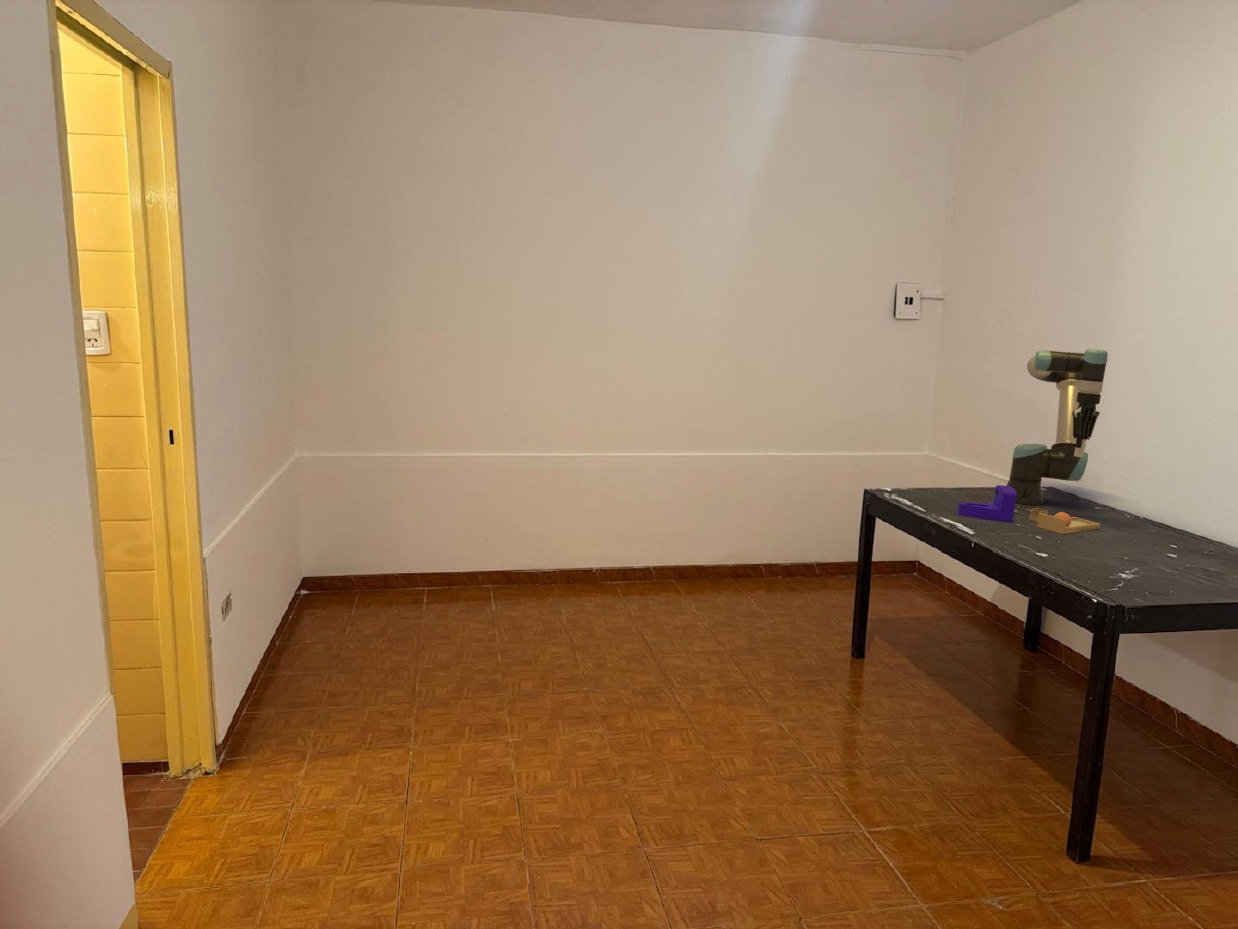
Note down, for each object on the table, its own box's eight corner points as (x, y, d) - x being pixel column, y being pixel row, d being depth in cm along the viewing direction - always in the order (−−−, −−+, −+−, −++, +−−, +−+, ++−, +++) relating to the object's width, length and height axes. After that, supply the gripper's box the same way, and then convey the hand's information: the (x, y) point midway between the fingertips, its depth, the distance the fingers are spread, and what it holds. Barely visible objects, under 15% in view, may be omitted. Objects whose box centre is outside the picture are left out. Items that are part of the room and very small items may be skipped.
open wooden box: (1036, 518, 322) (1037, 508, 321) (1046, 521, 319) (1047, 510, 318) (1029, 519, 320) (1031, 509, 319) (1039, 522, 317) (1040, 511, 316)
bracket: (1004, 515, 324) (1009, 485, 322) (1012, 523, 314) (1017, 491, 311) (954, 510, 327) (958, 480, 325) (960, 517, 317) (964, 486, 314)
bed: (1073, 522, 320) (1075, 508, 319) (1099, 529, 312) (1101, 515, 311) (1036, 526, 310) (1039, 513, 309) (1062, 534, 301) (1065, 520, 300)
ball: (1048, 515, 307) (1049, 529, 310) (1063, 520, 302) (1065, 534, 305) (1058, 507, 310) (1059, 521, 312) (1074, 512, 305) (1075, 526, 307)
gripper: (1090, 391, 319) (1079, 453, 323) (1068, 391, 312) (1058, 455, 317) (1110, 393, 312) (1099, 457, 317) (1088, 393, 306) (1077, 459, 311)
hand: (1078, 456), depth 317 cm, fingers closed
